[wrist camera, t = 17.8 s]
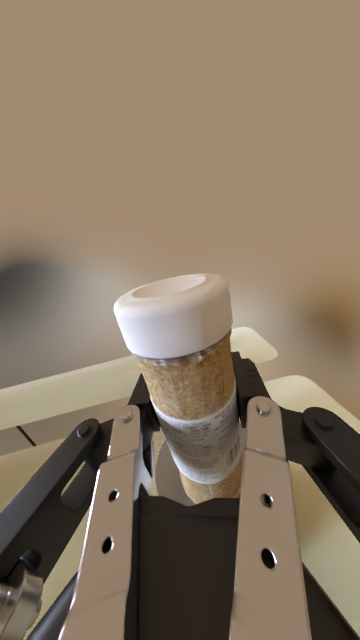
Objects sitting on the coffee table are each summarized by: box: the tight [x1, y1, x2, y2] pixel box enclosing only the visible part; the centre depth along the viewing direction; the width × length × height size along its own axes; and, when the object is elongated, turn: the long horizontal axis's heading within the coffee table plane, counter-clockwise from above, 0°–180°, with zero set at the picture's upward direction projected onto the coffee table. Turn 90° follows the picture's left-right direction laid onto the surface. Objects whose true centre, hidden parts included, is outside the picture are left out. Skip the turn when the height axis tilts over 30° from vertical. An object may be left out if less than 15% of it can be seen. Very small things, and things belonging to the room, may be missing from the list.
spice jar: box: [114, 273, 243, 504], centre depth 9 cm, size 5×5×13 cm
